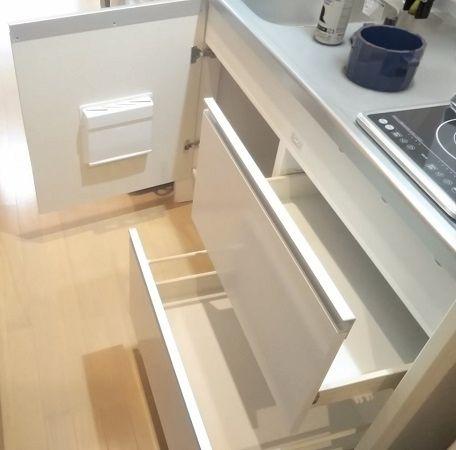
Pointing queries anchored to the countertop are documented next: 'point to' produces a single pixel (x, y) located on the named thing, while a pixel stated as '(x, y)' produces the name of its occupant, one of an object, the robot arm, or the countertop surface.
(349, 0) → the spray can
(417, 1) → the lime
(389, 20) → the pot lid
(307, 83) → the countertop surface
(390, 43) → the pot
